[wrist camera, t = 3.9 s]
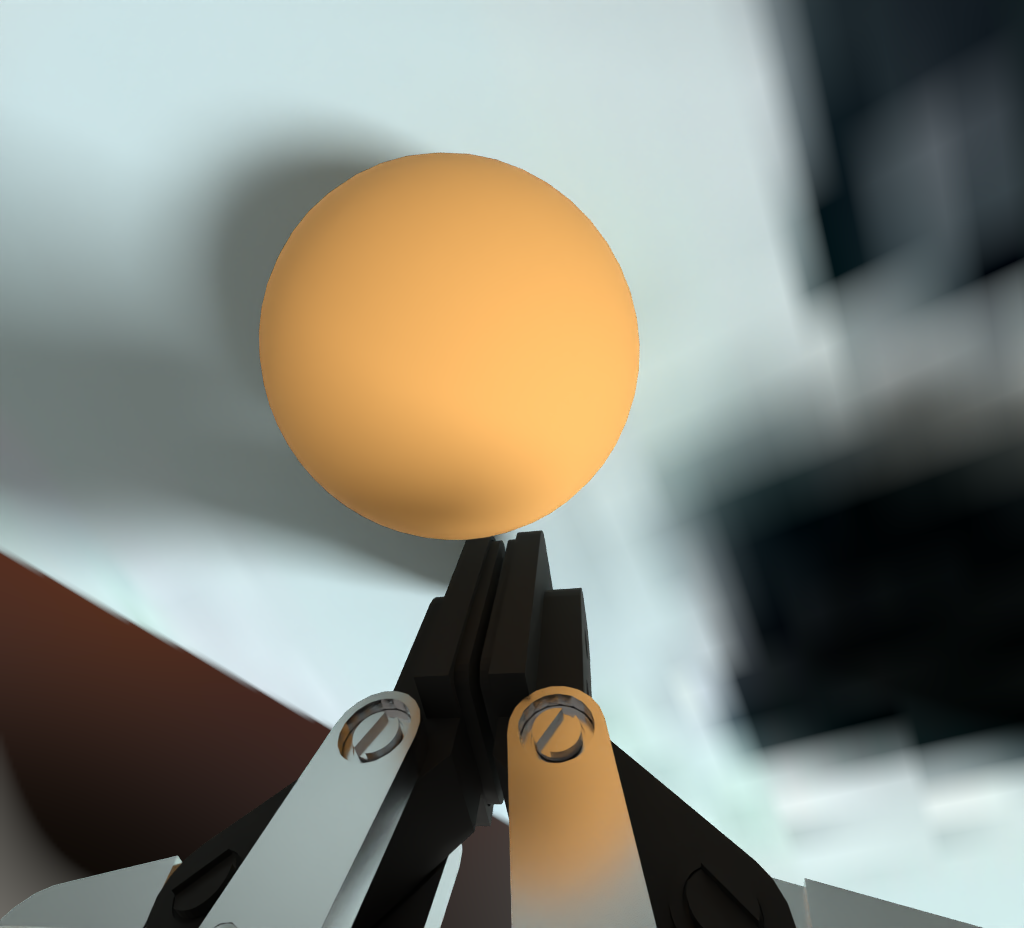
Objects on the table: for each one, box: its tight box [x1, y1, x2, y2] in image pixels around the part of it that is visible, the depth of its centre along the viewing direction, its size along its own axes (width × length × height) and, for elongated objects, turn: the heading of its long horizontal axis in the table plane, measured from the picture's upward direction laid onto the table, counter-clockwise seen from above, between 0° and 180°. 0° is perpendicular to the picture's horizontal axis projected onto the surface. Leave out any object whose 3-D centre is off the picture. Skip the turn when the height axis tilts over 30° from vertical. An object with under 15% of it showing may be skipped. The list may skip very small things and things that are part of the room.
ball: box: [259, 153, 639, 540], centre depth 7 cm, size 6×6×6 cm
